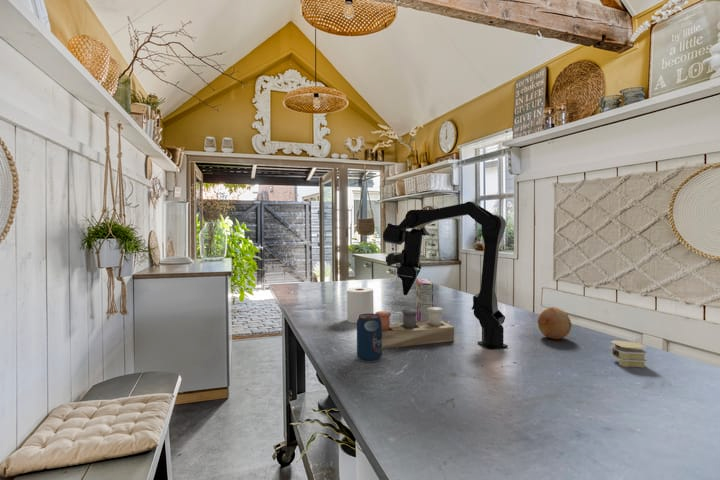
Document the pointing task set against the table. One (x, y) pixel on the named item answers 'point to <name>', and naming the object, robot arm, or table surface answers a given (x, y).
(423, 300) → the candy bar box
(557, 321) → the onion
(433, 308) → the white plug
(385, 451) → the table surface
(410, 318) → the grey rounded piece
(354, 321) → the toilet paper
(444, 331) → the socket block
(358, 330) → the soda can
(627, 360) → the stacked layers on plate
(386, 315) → the salmon plug
